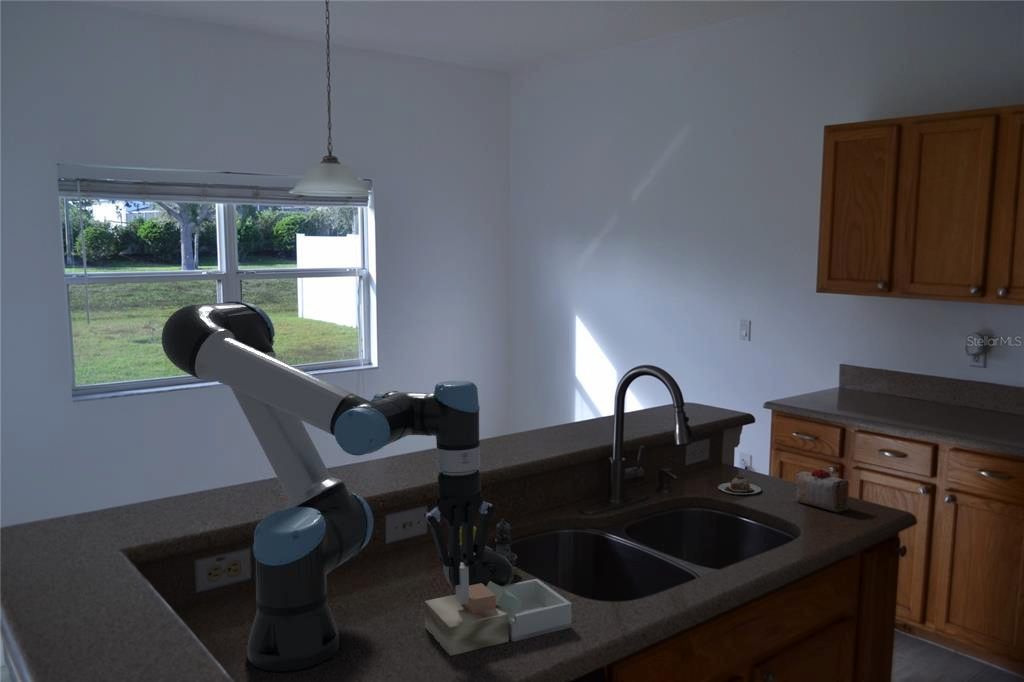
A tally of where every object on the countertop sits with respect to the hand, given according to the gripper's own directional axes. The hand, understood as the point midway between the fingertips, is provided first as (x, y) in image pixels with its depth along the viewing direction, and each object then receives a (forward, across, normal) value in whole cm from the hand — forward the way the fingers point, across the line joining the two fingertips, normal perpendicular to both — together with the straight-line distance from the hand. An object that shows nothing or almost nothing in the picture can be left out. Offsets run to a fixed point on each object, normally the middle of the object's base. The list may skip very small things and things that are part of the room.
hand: (462, 600), depth 140 cm
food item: (+7, +116, +26) cm, 119 cm away
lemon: (+7, +16, +35) cm, 39 cm away
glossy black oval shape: (+2, +6, +21) cm, 22 cm away
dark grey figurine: (+7, +19, +23) cm, 31 cm away
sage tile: (+2, +7, 0) cm, 8 cm away
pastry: (+8, +106, +48) cm, 117 cm away
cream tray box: (+6, +1, 0) cm, 6 cm away
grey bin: (+7, +13, 0) cm, 14 cm away
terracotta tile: (+2, +3, 0) cm, 3 cm away
